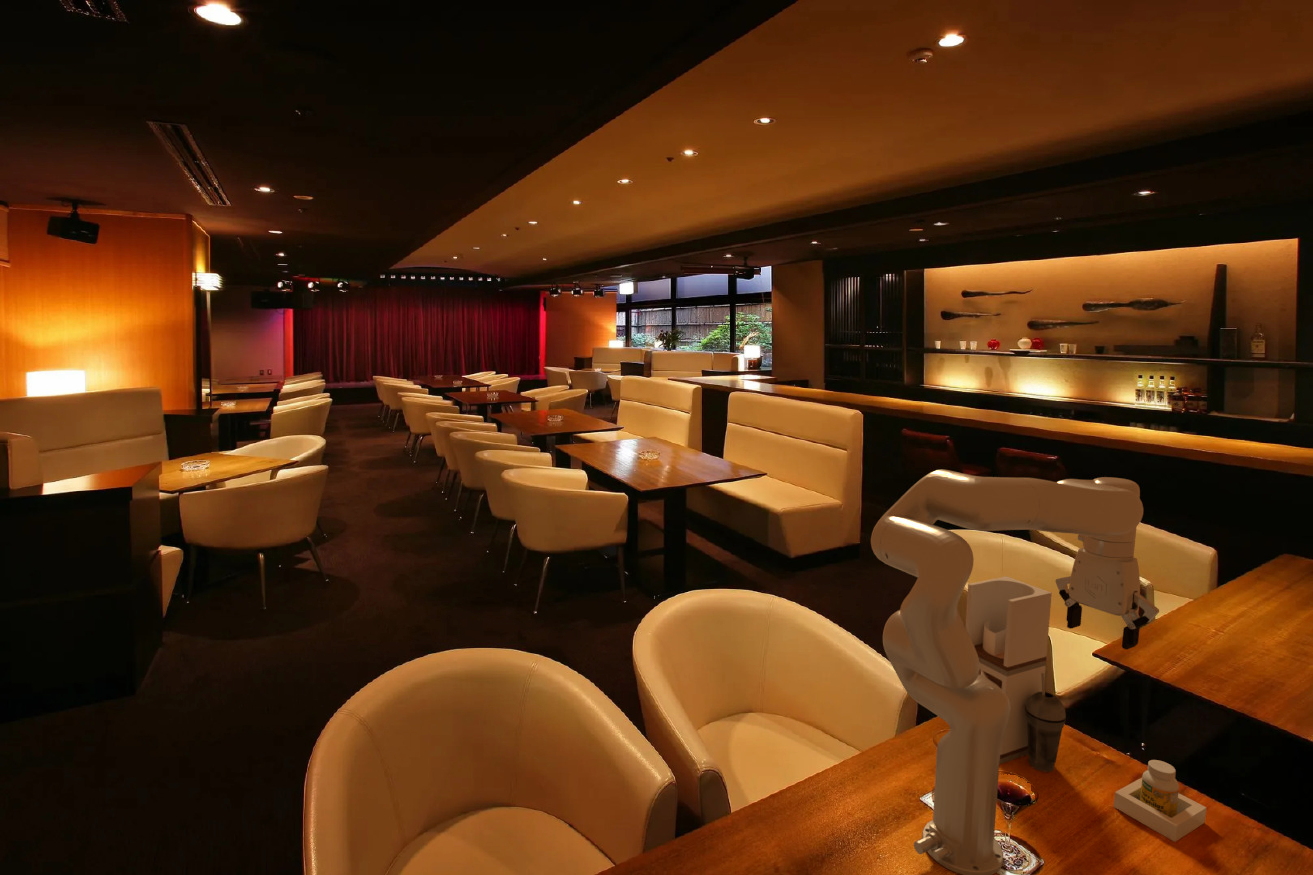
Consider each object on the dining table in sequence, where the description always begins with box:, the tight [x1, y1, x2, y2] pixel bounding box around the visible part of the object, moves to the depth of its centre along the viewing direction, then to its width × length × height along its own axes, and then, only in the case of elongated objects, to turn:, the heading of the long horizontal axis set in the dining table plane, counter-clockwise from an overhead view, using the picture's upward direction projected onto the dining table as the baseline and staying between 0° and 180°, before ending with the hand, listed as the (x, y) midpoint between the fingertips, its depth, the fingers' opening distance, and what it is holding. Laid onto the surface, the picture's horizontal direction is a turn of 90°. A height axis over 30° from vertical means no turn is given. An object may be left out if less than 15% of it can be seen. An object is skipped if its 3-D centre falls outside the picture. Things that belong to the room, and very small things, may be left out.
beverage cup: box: [1025, 673, 1067, 773], centre depth 135 cm, size 7×7×20 cm
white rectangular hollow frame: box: [1113, 777, 1207, 843], centre depth 122 cm, size 10×10×3 cm
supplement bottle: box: [1140, 759, 1180, 818], centre depth 122 cm, size 5×5×10 cm
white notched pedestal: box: [964, 576, 1053, 765], centre depth 142 cm, size 11×11×35 cm
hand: (1100, 636), depth 123 cm, fingers open, 9 cm apart
